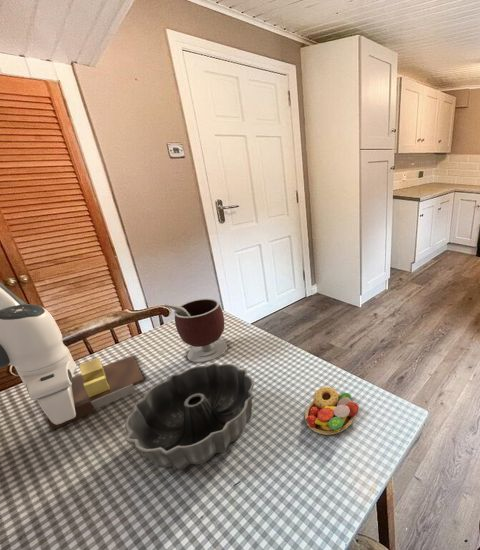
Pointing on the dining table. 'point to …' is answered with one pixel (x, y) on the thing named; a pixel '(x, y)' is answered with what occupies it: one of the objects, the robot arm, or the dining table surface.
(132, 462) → the dining table surface
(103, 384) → the butter pat
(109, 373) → the butter board
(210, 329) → the mate gourd
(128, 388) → the knife
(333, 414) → the toy food set
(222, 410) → the bundt pan
